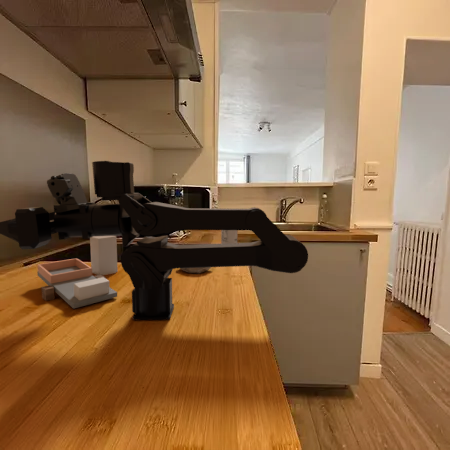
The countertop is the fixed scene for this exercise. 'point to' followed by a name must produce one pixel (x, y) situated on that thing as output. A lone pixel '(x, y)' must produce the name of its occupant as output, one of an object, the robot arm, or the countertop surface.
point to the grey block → (103, 255)
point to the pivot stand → (49, 291)
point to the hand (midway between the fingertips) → (12, 223)
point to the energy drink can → (228, 236)
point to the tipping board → (75, 282)
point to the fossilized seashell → (196, 269)
